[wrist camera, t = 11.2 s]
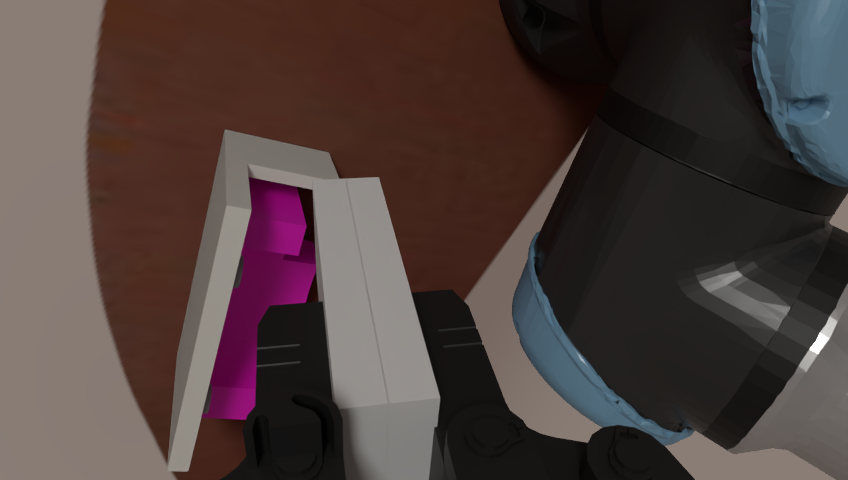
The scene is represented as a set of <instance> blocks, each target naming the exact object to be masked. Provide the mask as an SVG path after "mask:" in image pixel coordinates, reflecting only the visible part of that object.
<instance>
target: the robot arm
mask: <svg viewBox="0 0 848 480" xmlns="http://www.w3.org/2000/svg"><path fill="white" fill-rule="evenodd" d="M500 5H501V8H502V12H503V15H504V18H505V20H506V23H507V25H508V27H509V29H510V31H511V33H512V35H513V37H514V38H515V40H516V41H517V43H518V44H519V45H520V46H521V48H522V49H523V50H524V51H525V52H526V53H527V54H528V55H529V56H530V57H531V58H532V59H534V60H535V61H536V62H538V63H539V64H541V65H542V66H544V67H546V68H547V69H549V70H551V71H553V72H554V73H556V74H558V75H560V76H562V77H564V78H567V79H570V80H573V81H577V82H582V83H587V84H609V86H608V88H607V91H606V93H605V95H604V97H603V99H602V101H601V104H600V106H599V108H598V110H597V111H596V113H595V115H594V117H593V119H592V122H591V124H590V126H589V128H588V130H587V132H586V134H585V137H584V139H583V141H582V143H581V145H580V147H579V150H578V152H577V154H576V156H575V158H574V160H573V162H572V164H571V167H570V169H569V171H568V173H567V175H566V177H565V179H564V182H563V184H562V186H561V188H560V190H559V192H558V194H557V197H556V199H555V201H554V203H553V205H552V207H551V209H550V212H549V214H548V216H547V218H546V220H545V222H544V224H543V227H542V229H541V231H540V232H538V233H536V234H535V236H534V238H533V239H532V241H531V244H530V247H529V253H528V260H527V263H526V265H525V268H524V270H523V273H522V275H521V278H520V280H519V283H518V286H517V288H516V291H515V294H514V297H513V304H512V316H513V322H514V325H515V328H516V331H517V333H518V334H519V337H520V343H521V346H522V348H523V350H524V351H525V353H526V355H527V357H528V358H529V360H530V361H531V363H532V364H533V366H534V367H535V368H536V370H537V371H538V373H539V374H540V375H541V376H542V377H543V379H544V380H545V381H546V382H547V383H548V384H549V385H550V386H551V387H552V388H553V390H554V391H556V392H557V393H558V394H559V395H560V396H561V397H562V398H563V399H564V400H565V401H566V402H567V403H569V404H570V405H571V406H572V407H573V408H575V409H576V410H577V411H579V412H580V413H581V414H582V415H584V416H585V417H587V418H588V419H590V420H591V421H593V422H594V423H596V424H597V425H599V426H601V427H603V428H601V429H600V430H599V431H597V432H595V433H594V434H592V436H591V438H590V440H589V442H588V443H585V442H579V441H573V440H567V439H560V438H555V437H551V436H547V435H543V434H540V433H538V432H536V431H534V430H532V429H530V428H528V427H527V426H526V424H525V423H524V421H523V420H522V419H520V418H519V417H518V416H516V415H515V414H514V413H512V412H511V411H510V410H509V408H508V406H507V404H506V402H505V400H504V398H503V395H502V392H501V389H500V387H499V384H498V382H497V379H496V376H495V374H494V371H493V369H492V366H491V363H490V361H489V358H488V356H487V353H486V351H485V348H484V345H482V340H481V337H480V335H479V333H478V330H477V329H476V325H475V322H474V319H473V317H472V314H471V312H470V309H469V306H468V305H467V304H466V303H465V302H464V301H463V300H462V299H461V298H460V297H459V296H458V295H457V294H456V293H455V292H454V291H453V290H440V291H427V292H415V293H411V291H410V287H409V284H408V280H407V277H406V273H405V270H404V266H403V262H402V259H401V255H400V252H399V248H398V244H397V241H396V237H395V234H394V230H393V227H392V223H391V219H390V216H389V212H388V209H387V205H386V202H385V198H384V194H383V191H382V187H381V184H380V180H379V177H374V178H350V179H326V180H312V188H313V209H314V231H315V253H316V275H317V287H318V298H319V302H308V303H296V304H283V305H270V306H269V307H268V309H267V310H266V312H265V314H264V315H263V317H262V319H261V320H260V322H259V323H258V326H257V360H256V365H257V369H256V395H255V407H254V408H253V409H252V410H251V412H250V413H249V414H248V415H247V418H246V422H245V425H244V428H243V435H244V442H245V448H246V454H247V456H246V457H245V459H244V460H243V461H242V462H241V463H240V465H239V466H238V467H237V468H236V469H234V470H233V471H232V472H231V473H229V474H228V475H227V476H225V477H224V478H222V479H220V480H695V479H694V478H693V477H692V476H691V475H690V474H689V473H688V471H687V470H686V469H685V468H684V467H683V466H682V465H681V464H680V463H679V461H678V460H677V459H676V458H675V457H674V456H673V455H672V454H671V453H670V451H669V450H668V449H667V448H666V447H665V446H666V445H671V444H674V443H676V442H678V441H680V440H681V439H685V438H686V437H689V436H690V435H692V434H693V432H694V431H697V432H699V433H701V434H702V435H704V436H705V437H707V438H708V439H710V440H712V441H713V442H715V443H716V444H718V445H720V446H721V447H723V448H724V449H726V450H727V451H729V452H731V453H733V454H738V453H744V452H750V451H757V450H763V449H770V448H776V449H785V450H789V451H790V452H792V453H794V454H795V455H797V456H799V457H800V458H802V459H804V460H805V461H807V462H809V463H810V464H812V465H813V466H815V467H817V468H818V469H820V470H821V471H824V472H825V473H826V474H828V475H830V476H831V477H833V478H835V479H836V480H848V233H847V232H845V231H843V230H841V229H839V228H837V227H834V226H832V225H831V224H830V223H829V221H830V219H831V218H832V216H833V214H835V212H836V210H837V209H838V207H839V205H840V204H841V203H842V201H843V199H844V198H845V197H846V195H847V193H848V0H500Z"/></svg>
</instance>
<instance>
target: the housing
mask: <svg viewBox="0 0 848 480" xmlns="http://www.w3.org/2000/svg"><path fill="white" fill-rule="evenodd" d="M248 177H251V178H256V179H261V180H266V181H271V182H276V183H282V184H287V185H292V186H297V187H302V188H307V189H312V190H313V188H312V180H326V179H339V177H338V174H337V172H336V169H335V167H334V164H333V162H332V159H331V157H330V154H329V153H328V152H324V151H319V150H315V149H310V148H306V147H301V146H297V145H292V144H288V143H283V142H279V141H274V140H270V139H265V138H261V137H256V136H252V135H247V134H243V133H239V132H234V131H230V130H225V131H224V136H223V141H222V145H221V150H220V155H219V160H218V164H217V169H216V174H215V178H214V183H213V188H212V193H211V197H210V202H209V207H208V212H207V216H206V221H205V226H204V230H203V235H202V240H201V245H200V249H199V254H198V259H197V264H196V268H195V273H194V278H193V282H192V287H191V292H190V297H189V301H188V306H187V311H186V315H185V320H184V325H183V330H182V334H181V339H180V344H179V349H178V353H177V363H176V374H175V386H174V397H173V408H172V420H171V431H170V443H169V454H168V465H167V471H188V470H189V466H190V462H191V458H192V453H193V449H194V445H195V441H196V437H197V433H198V429H199V425H200V420H201V416H202V413H205V414H207V413H208V411H209V407H210V401H211V394H212V383H210V379H211V375H212V371H213V367H214V363H215V359H216V355H217V350H218V346H219V342H220V338H221V334H222V330H223V326H224V322H225V318H226V313H227V309H228V305H229V301H230V297H231V293H232V289H233V288H238V287H239V285H240V281H241V277H242V272H243V264H244V256H243V255H241V252H242V248H243V243H244V239H245V235H246V231H247V227H248V223H249V219H250V215H251V210H252V208H251V198H250V188H249V178H248Z"/></svg>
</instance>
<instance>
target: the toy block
mask: <svg viewBox="0 0 848 480" xmlns="http://www.w3.org/2000/svg"><path fill="white" fill-rule="evenodd" d="M248 178H249V188H250V198H251V208H252V210H251V215H250V219H249V223H248V227H247V231H246V235H245V239H244V243H243V248H242V252H241V255H243V256H244V264H243V272H242V277H241V281H240V285H239V287H238V288H233V289H232V293H231V297H230V301H229V305H228V309H227V313H226V318H225V322H224V326H223V330H222V334H221V338H220V342H219V346H218V350H217V355H216V359H215V363H214V367H213V371H212V375H211V379H210V383H212V394H211V401H210V407H209V411H208V413H207V414H205V413H202V416H201V418H219V419H240V420H246V418H247V415H248V414H249V413H250V412H251V410H252V409H253V408H254V407H255V395H256V369H257V365H256V360H257V326H258V323H259V322H260V320H261V319H262V317H263V315H264V314H265V312H266V310H267V309H268V307H269V306H270V305H283V304H296V303H306V300H307V296H308V292H309V289H310V286H311V283H312V280H313V277H314V275H315V273H316V253H315V247H314V243H313V241H308V240H303V238H304V234H305V230H306V227H307V226H306V222H305V218H304V214H303V210H302V205H301V201H300V197H299V193H298V189H297V186H292V185H287V184H282V183H276V182H271V181H266V180H261V179H256V178H251V177H248Z"/></svg>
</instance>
